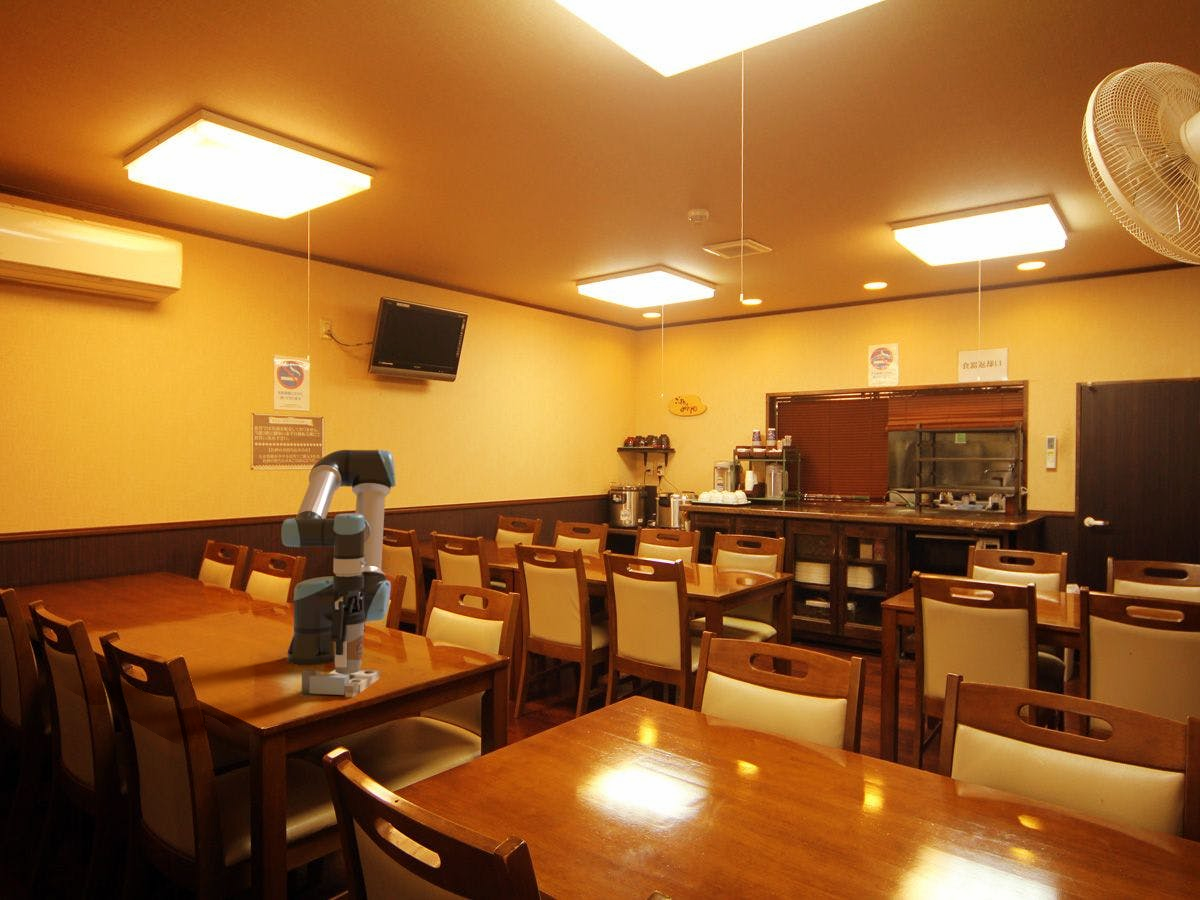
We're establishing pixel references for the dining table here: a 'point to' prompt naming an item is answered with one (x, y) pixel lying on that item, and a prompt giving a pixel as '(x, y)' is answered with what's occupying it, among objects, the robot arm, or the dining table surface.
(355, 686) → the seat panel
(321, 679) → the leg bar
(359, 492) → the robot arm
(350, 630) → the coffee cup
